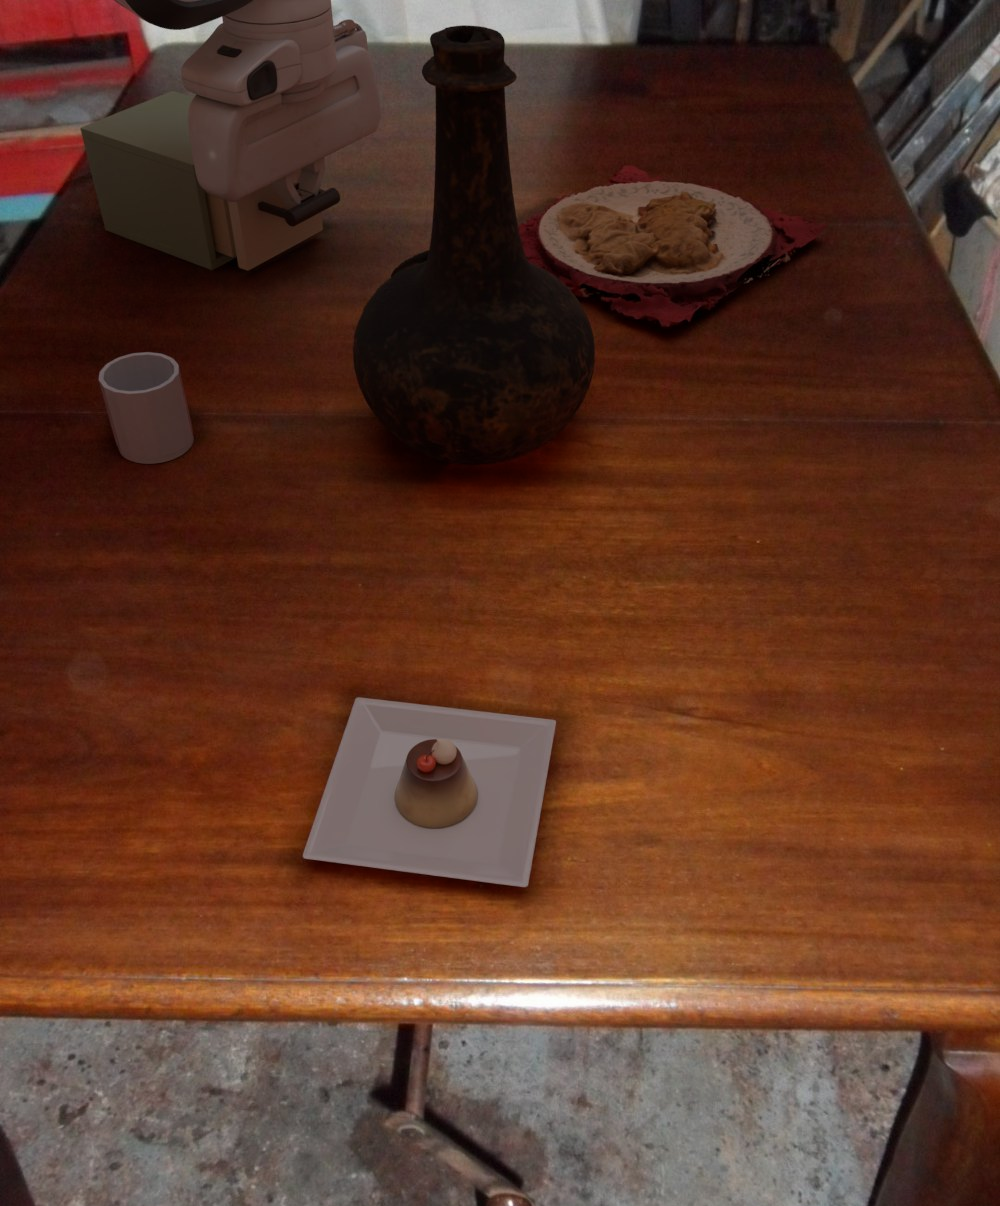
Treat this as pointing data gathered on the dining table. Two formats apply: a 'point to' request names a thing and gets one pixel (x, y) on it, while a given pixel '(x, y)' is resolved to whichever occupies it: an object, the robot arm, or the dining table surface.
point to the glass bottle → (473, 292)
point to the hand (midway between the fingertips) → (302, 214)
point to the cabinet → (152, 179)
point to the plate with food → (659, 243)
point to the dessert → (435, 792)
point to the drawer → (265, 223)
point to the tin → (147, 407)
